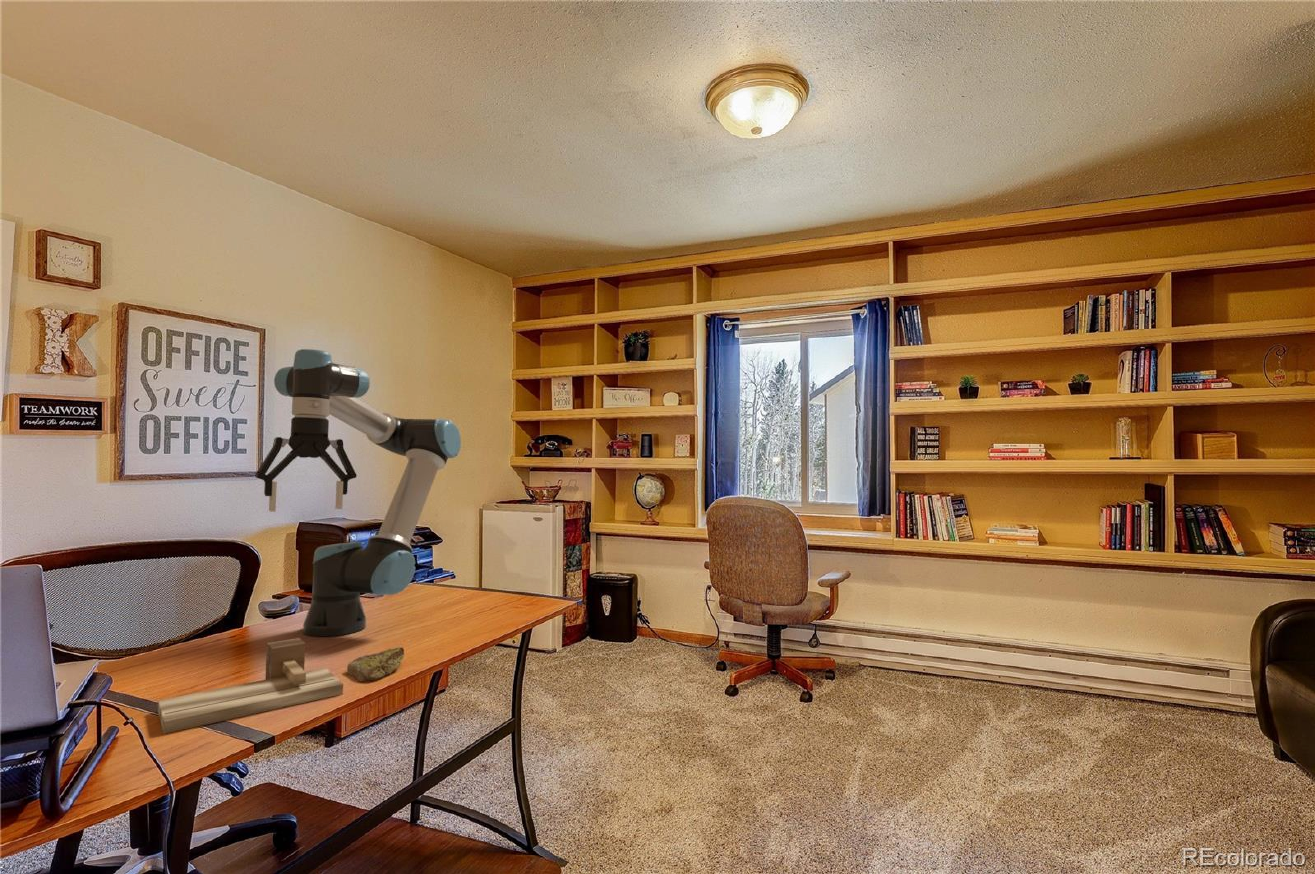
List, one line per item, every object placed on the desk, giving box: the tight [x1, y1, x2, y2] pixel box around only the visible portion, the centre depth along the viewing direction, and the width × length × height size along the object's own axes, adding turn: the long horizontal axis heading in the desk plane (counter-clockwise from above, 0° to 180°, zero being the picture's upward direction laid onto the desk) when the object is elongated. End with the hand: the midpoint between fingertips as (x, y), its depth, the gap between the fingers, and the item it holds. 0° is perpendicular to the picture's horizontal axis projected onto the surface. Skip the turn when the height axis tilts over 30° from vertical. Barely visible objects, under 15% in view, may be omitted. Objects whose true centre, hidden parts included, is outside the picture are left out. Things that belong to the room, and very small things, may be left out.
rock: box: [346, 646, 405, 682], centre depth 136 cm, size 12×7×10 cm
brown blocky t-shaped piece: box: [264, 637, 307, 687], centre depth 126 cm, size 15×6×8 cm, turn 42°
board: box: [157, 667, 344, 735], centre depth 118 cm, size 12×28×2 cm, turn 133°
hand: (306, 510), depth 142 cm, fingers open, 13 cm apart
